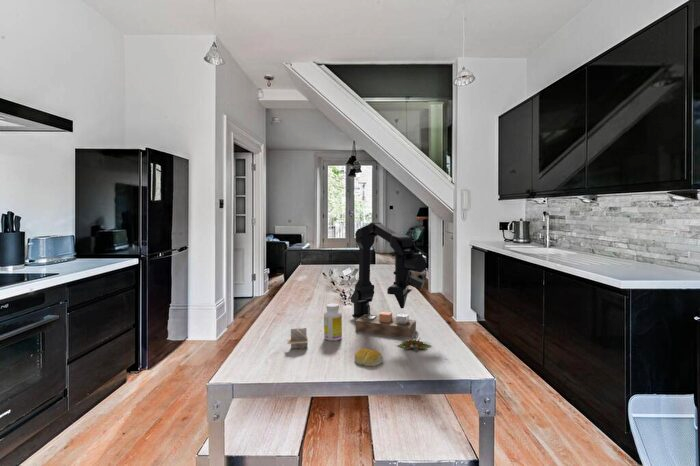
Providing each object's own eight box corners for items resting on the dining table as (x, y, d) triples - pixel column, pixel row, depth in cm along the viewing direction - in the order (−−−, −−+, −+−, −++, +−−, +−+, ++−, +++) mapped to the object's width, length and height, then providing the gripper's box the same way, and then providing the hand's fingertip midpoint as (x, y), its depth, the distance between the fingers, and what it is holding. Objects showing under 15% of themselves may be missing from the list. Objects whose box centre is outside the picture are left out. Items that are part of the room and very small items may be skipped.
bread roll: (362, 354, 131) (362, 343, 131) (386, 360, 126) (386, 348, 126) (349, 363, 124) (349, 351, 124) (373, 369, 119) (373, 357, 119)
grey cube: (363, 326, 157) (363, 317, 157) (366, 323, 161) (366, 314, 161) (372, 328, 156) (372, 318, 156) (375, 325, 159) (375, 316, 159)
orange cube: (379, 323, 154) (379, 313, 154) (382, 320, 158) (382, 311, 158) (388, 324, 153) (388, 315, 152) (392, 321, 156) (392, 312, 156)
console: (355, 330, 156) (355, 320, 155) (365, 323, 165) (365, 314, 164) (408, 338, 146) (408, 327, 146) (415, 330, 155) (416, 320, 155)
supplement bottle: (344, 336, 149) (344, 303, 148) (338, 342, 142) (337, 307, 141) (328, 334, 151) (327, 302, 150) (321, 340, 144) (321, 306, 143)
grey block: (396, 325, 151) (396, 315, 151) (399, 322, 155) (399, 313, 155) (406, 326, 150) (406, 317, 149) (409, 323, 153) (409, 314, 153)
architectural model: (307, 352, 134) (307, 331, 134) (287, 353, 133) (287, 332, 133) (307, 348, 138) (307, 327, 137) (287, 349, 137) (287, 329, 136)
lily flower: (437, 347, 138) (438, 335, 138) (418, 356, 130) (418, 343, 130) (410, 339, 147) (410, 327, 146) (390, 347, 138) (390, 334, 138)
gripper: (416, 274, 139) (416, 316, 140) (428, 266, 156) (428, 304, 157) (386, 271, 144) (386, 313, 145) (402, 264, 160) (402, 301, 162)
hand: (402, 308), depth 152 cm, fingers closed
